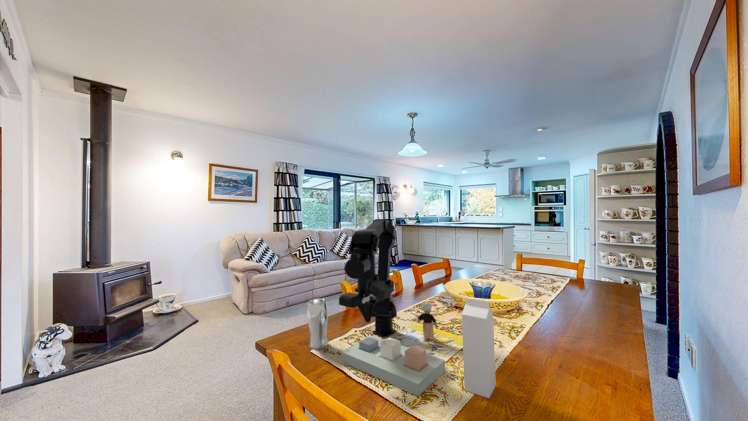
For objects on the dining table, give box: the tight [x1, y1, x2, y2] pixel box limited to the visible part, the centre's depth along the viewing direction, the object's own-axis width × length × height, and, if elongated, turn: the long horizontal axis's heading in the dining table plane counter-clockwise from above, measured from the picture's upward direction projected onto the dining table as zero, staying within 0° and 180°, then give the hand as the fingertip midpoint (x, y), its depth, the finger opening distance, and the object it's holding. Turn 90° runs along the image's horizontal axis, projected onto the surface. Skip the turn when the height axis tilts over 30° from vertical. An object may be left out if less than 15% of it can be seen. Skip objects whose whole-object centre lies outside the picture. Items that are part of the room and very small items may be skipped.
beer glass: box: [306, 297, 329, 350], centre depth 99 cm, size 7×7×15 cm
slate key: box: [358, 336, 379, 353], centre depth 90 cm, size 4×4×4 cm
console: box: [340, 335, 446, 397], centre depth 84 cm, size 14×27×3 cm, turn 50°
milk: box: [461, 298, 497, 399], centre depth 72 cm, size 6×6×22 cm
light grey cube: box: [380, 337, 402, 362], centre depth 84 cm, size 4×4×4 cm
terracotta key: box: [405, 344, 427, 372], centre depth 79 cm, size 4×4×4 cm
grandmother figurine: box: [416, 302, 439, 343], centre depth 100 cm, size 8×4×13 cm, turn 65°
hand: (367, 322), depth 90 cm, fingers closed
